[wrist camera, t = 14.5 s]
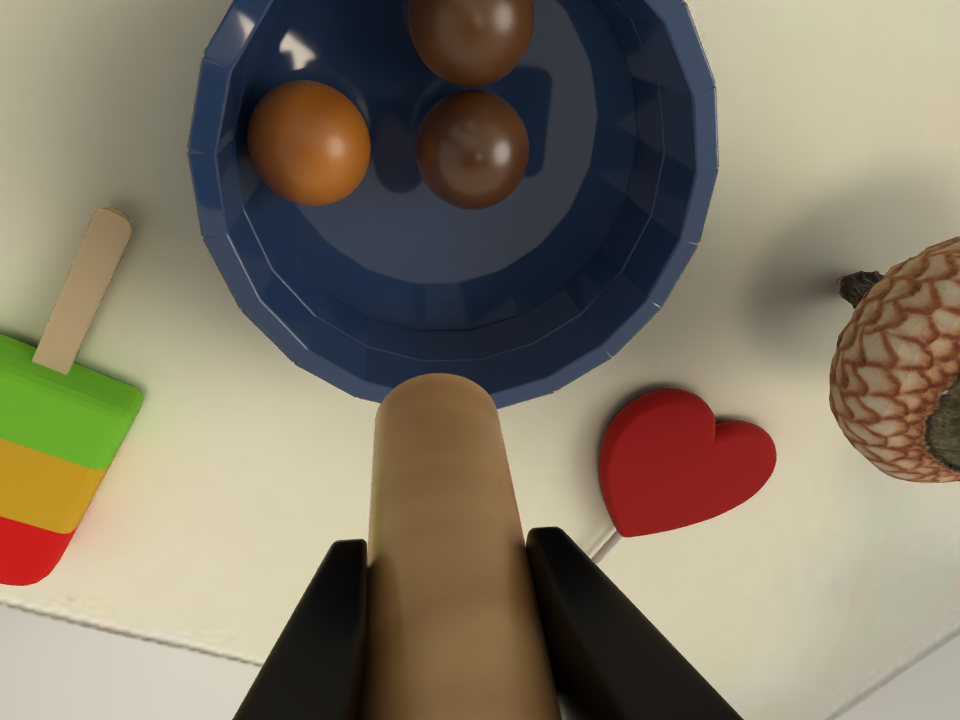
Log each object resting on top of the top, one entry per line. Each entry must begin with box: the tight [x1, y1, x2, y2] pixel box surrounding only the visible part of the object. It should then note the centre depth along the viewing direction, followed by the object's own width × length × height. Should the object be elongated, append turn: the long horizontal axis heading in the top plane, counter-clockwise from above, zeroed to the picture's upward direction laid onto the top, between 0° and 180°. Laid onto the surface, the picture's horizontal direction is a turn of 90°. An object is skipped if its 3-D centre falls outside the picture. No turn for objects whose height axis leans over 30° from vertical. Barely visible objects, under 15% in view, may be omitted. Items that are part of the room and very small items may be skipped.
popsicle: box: [0, 207, 143, 586], centre depth 19 cm, size 6×15×2 cm, turn 145°
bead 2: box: [408, 0, 534, 87], centre depth 15 cm, size 3×3×3 cm
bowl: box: [187, 0, 719, 409], centre depth 16 cm, size 12×12×4 cm
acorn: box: [829, 236, 960, 483], centre depth 18 cm, size 8×8×10 cm
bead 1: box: [247, 80, 371, 206], centre depth 15 cm, size 3×3×3 cm
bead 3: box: [415, 89, 529, 210], centre depth 16 cm, size 3×3×3 cm
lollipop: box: [591, 389, 776, 565], centre depth 27 cm, size 8×1×15 cm
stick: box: [360, 373, 562, 720], centre depth 7 cm, size 2×2×9 cm
